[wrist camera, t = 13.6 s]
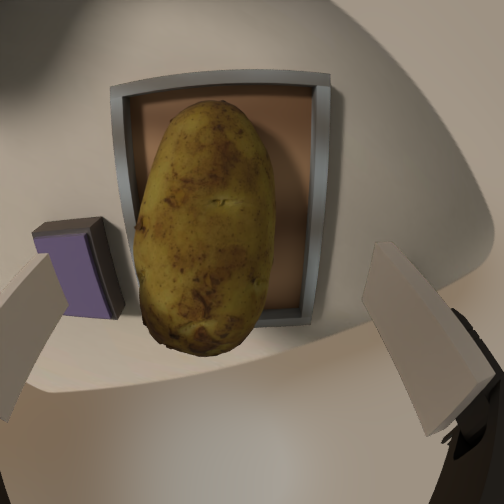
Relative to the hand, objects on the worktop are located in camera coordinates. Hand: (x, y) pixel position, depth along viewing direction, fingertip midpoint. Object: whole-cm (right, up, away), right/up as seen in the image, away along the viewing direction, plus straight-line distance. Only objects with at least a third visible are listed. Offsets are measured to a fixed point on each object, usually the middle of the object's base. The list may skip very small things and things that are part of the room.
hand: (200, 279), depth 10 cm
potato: (0, +4, +8) cm, 9 cm away
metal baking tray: (0, +4, +8) cm, 9 cm away
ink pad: (-12, 0, +10) cm, 15 cm away
